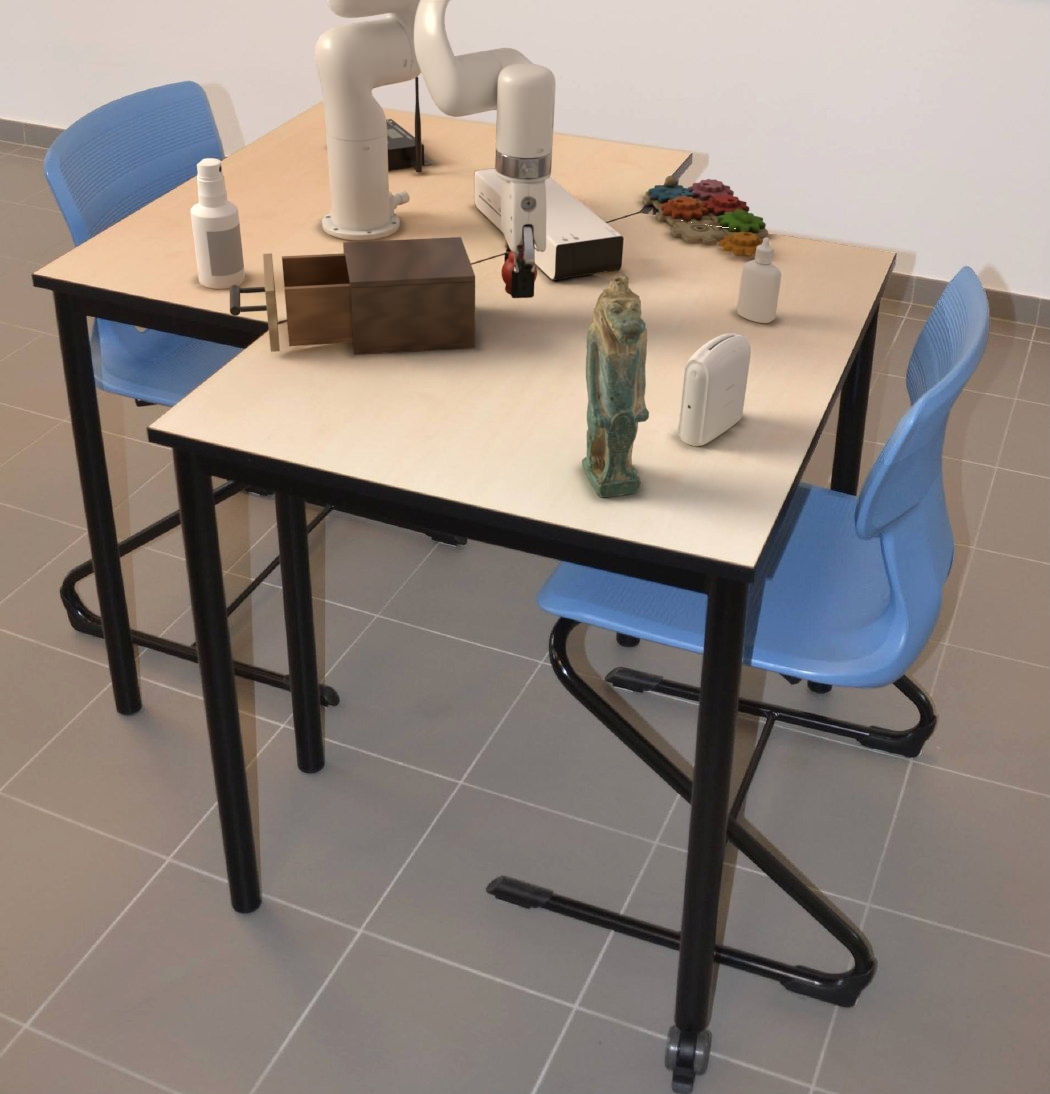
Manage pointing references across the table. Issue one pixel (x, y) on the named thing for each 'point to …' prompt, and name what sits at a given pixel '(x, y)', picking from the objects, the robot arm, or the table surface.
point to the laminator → (559, 230)
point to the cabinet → (410, 295)
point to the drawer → (305, 300)
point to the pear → (508, 268)
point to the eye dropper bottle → (759, 286)
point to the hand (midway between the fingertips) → (518, 286)
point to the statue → (615, 389)
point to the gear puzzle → (707, 215)
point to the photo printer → (714, 389)
